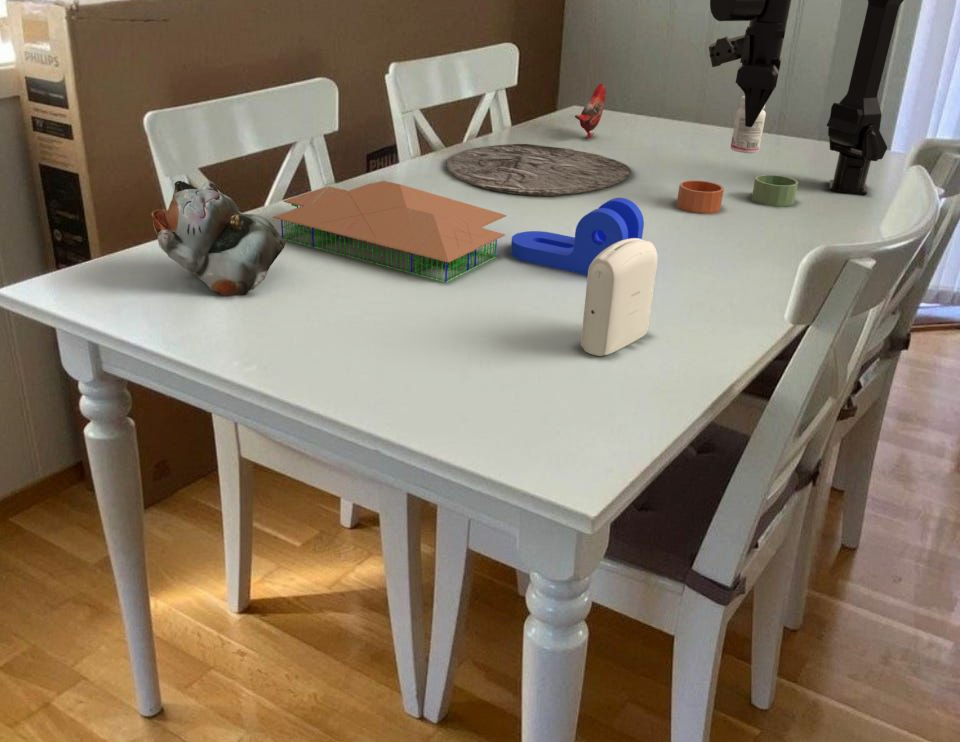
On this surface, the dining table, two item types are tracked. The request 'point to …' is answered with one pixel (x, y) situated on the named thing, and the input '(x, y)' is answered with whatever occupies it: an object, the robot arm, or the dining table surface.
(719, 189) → the terracotta cup
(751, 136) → the pill bottle
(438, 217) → the house
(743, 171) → the dining table surface
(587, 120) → the decorative bird figurine
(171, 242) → the lucky cat figurine
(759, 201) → the green cup
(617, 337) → the photo printer
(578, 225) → the bracket
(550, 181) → the worn metal disc
